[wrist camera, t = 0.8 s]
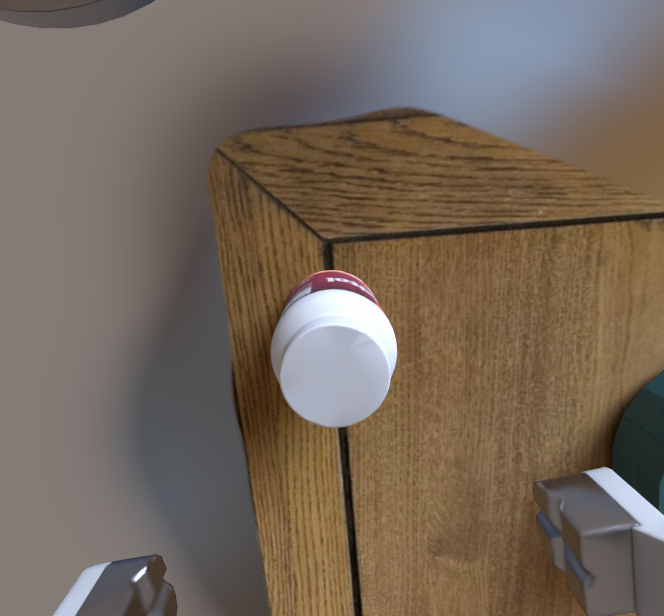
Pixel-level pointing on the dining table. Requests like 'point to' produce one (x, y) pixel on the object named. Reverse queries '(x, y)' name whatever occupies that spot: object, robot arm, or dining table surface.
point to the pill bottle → (333, 350)
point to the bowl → (643, 444)
